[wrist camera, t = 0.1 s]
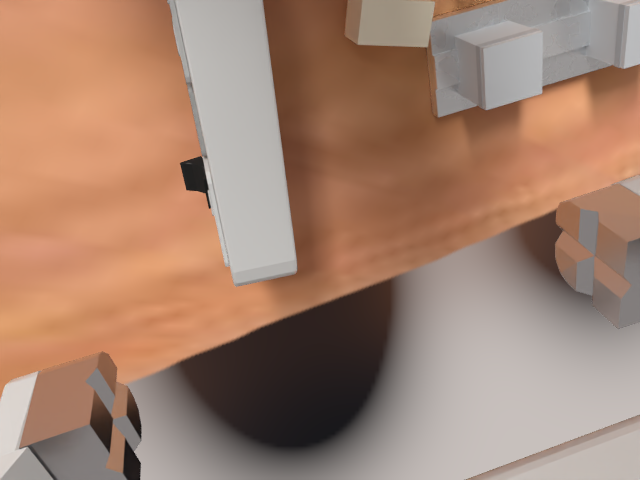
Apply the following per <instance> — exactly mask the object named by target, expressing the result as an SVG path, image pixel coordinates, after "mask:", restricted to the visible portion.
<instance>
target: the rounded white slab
mask: <svg viewBox="0 0 640 480" xmlns="http://www.w3.org/2000/svg"><path fill="white" fill-rule="evenodd" d="M167 2H168V4H170V9H171V14H172V23H173V30H174V34H175V39H176V44H177V48H178V53H179V56H181V61H182V65H183V70H184V75H185V79H186V83H187V86H188V92H189V96H190V101H191V106H192V110H193V115H194V120H195V124H196V129H197V134H198V139H199V143H200V148H201V153H202V156H203V158H202V157H201V156H200V157H197V158H194V159H190V160H187V161H184V162H181V163H180V164H181V169H182V173H183V177H184V181H185V185H186V190H190V191H199V192H203V193H206V197H207V201H208V206H209V208H211V210H212V214H213V216H214V215H215V220H216V225H217V229H218V234H219V239H220V243H221V248H222V253H223V257H224V262H225V266H226V267H227V266H230V269H231V273H232V278H233V283H234V285H235V286H236V287H237V286H242V285H247V284H251V283H256V282H261V281H265V280H270V279H275V278H279V277H284V276H289V275H293V274H296V272H297V258H296V250H295V242H294V235H293V227H292V219H291V212H290V204H289V197H288V189H287V181H286V174H285V166H284V158H283V151H282V143H281V136H280V128H279V120H278V113H277V105H276V97H275V90H274V82H273V75H272V67H271V59H270V52H269V44H268V36H267V29H266V21H265V14H264V6H263V0H167ZM190 77H191V78H190ZM191 81H192V82H191ZM192 86H193V87H192ZM201 129H202V130H201ZM202 134H203V135H202ZM213 210H214V211H213ZM226 249H227V250H226ZM227 254H228V255H227ZM228 259H229V260H228ZM229 264H230V265H229Z"/></svg>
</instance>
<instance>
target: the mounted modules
mask: <svg viewBox="0 0 640 480" xmlns="http://www.w3.org/2000/svg"><path fill="white" fill-rule="evenodd" d="M588 10H589V11H591V24H590V41H589V45H588V46H586V56H588V57H591V58H594V59H597V60H600V61H603V62H606V63H609V64H611V65H614V66H615V67H618V68H623V69H625V68H628V67H632V66H635V65H638V64H640V0H589V4H588ZM454 39H455V49H457V51H458V65H459V80H460V83H459V84H458V94H460V95H462V96H463V97H465V98H467V99H468V100H470V101H472V102H473V103H475V104H476V105H478V106H479V107H480V108H481V109H485V110H489V109H493V108H496V107H499V106H503V105H506V104H509V103H512V102H516V101H519V100H522V99H526V98H529V97H532V96H536V95H539V94H542V66H543V31H540V30H539V29H536V28H534V29H533V28H530V27H527V26H524V25H521V24H518V23H515V22H512V21H506V22H503V23H499V24H496V25H492V26H489V27H485V28H482V29H478V30H475V31H471V32H468V33H464V34H461V35H457V36H454Z"/></svg>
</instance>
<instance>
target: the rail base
mask: <svg viewBox="0 0 640 480" xmlns="http://www.w3.org/2000/svg"><path fill="white" fill-rule="evenodd" d="M588 4H589V0H492V1H489V2H485V3H481V4H478V5H474V6H471V7H467V8H464V9H460V10H457V11H453V12H449V13H446V14H442V15H439V16H435V17H433V18H432V24H431V30H430V36H429V42H428V47H426V53H427V63H428V73H429V83H430V93H431V103H432V113H433V114H434V115H435V116H437V117H438V118H439V117H442V116H445V115H449V114H452V113H455V112H458V111H462V110H465V109H468V108H472V107H475V106H478V105H476V104H475V103H473V102H472V101H470V100H468V99H467V98H465V97H463V96H462V95H460V94H458V84H459V83H460V80H459V65H458V51H457V49H455V39H454V36H457V35H461V34H464V33H468V32H471V31H475V30H478V29H482V28H485V27H489V26H492V25H496V24H499V23H503V22H506V21H512V22H515V23H518V24H521V25H524V26H527V27H530V28H533V29H534V28H536V29H539V30H540V31H543V66H542V86H545V85H548V84H552V83H555V82H558V81H562V80H565V79H568V78H572V77H575V76H578V75H582V74H585V73H588V72H591V71H595V70H598V69H601V68H605V67H608V66H611V64H609V63H606V62H603V61H600V60H597V59H594V58H591V57H588V56H586V46H588V45H589V41H590V24H591V11H589V10H588Z"/></svg>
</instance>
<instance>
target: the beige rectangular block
mask: <svg viewBox="0 0 640 480" xmlns="http://www.w3.org/2000/svg"><path fill="white" fill-rule="evenodd" d="M434 6H435V2H434V1H431V0H348V3H347V14H346V24H345V35H344V36H345V37H347V38H348V39H350V40H351V41H353V42H354V43H356V44H357V45H377V46H406V47H428V42H429V36H430V30H431V24H432V18H433V12H434Z"/></svg>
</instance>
